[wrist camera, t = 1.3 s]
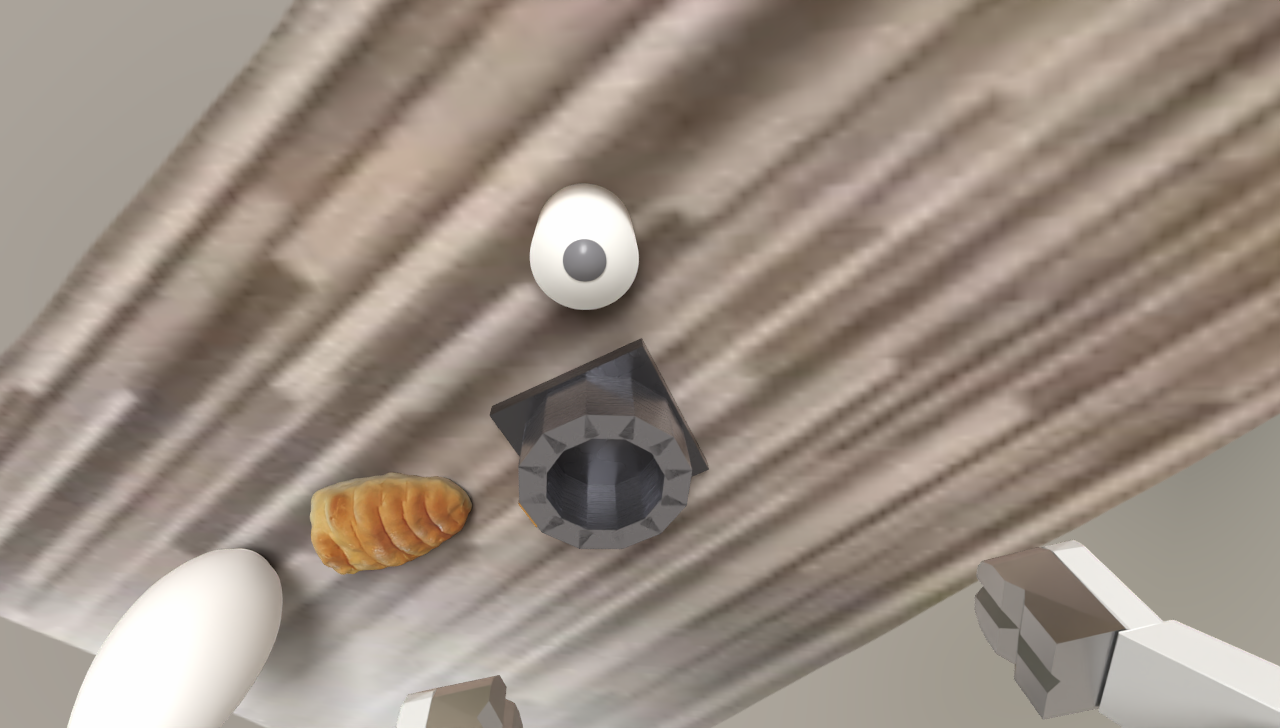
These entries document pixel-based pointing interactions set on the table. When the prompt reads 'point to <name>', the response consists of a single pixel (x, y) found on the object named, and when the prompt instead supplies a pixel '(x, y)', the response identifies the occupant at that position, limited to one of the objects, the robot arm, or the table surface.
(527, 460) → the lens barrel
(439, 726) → the robot arm
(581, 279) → the cylinder with grey knob
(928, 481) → the table surface
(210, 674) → the white air blower bulb
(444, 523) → the pastry
